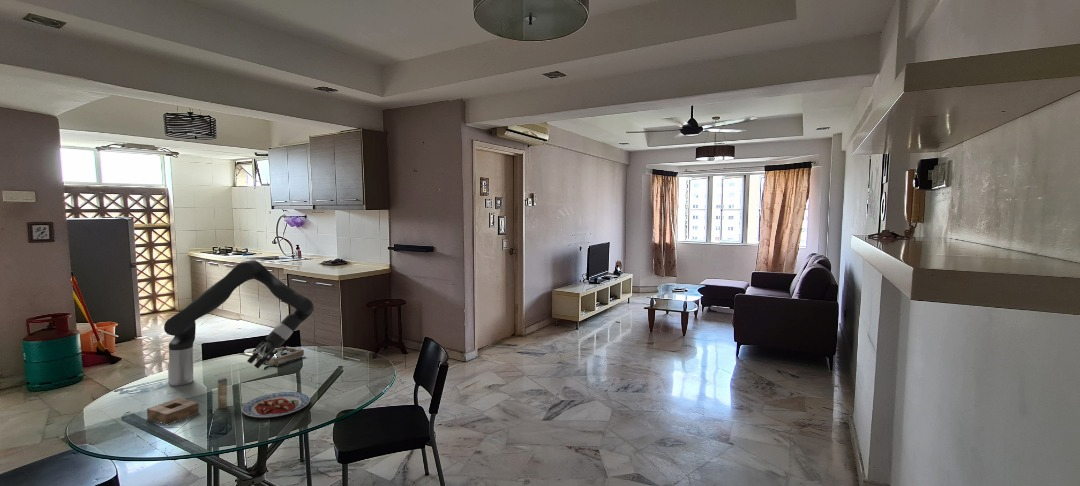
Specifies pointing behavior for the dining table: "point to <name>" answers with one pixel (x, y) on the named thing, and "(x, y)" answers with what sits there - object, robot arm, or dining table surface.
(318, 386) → the dining table surface
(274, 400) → the ceramic plate
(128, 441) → the dining table surface
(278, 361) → the figure corral
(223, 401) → the dowel
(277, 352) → the soldier figure
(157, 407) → the socket block
